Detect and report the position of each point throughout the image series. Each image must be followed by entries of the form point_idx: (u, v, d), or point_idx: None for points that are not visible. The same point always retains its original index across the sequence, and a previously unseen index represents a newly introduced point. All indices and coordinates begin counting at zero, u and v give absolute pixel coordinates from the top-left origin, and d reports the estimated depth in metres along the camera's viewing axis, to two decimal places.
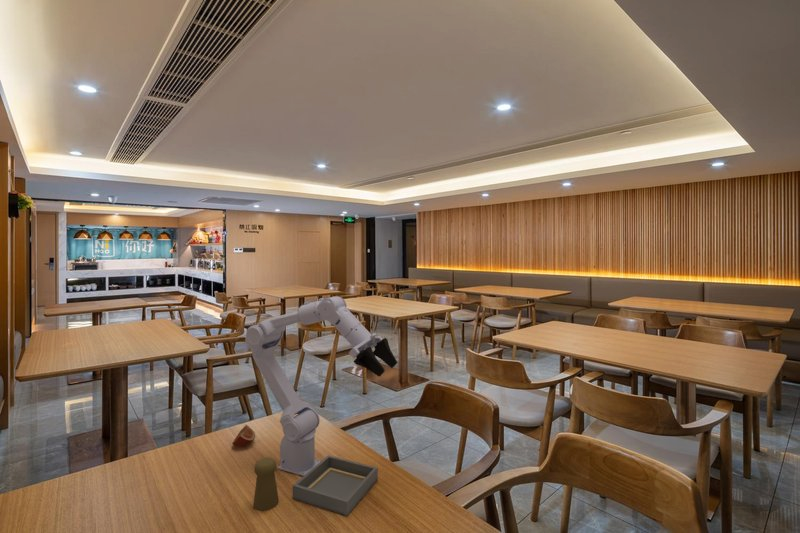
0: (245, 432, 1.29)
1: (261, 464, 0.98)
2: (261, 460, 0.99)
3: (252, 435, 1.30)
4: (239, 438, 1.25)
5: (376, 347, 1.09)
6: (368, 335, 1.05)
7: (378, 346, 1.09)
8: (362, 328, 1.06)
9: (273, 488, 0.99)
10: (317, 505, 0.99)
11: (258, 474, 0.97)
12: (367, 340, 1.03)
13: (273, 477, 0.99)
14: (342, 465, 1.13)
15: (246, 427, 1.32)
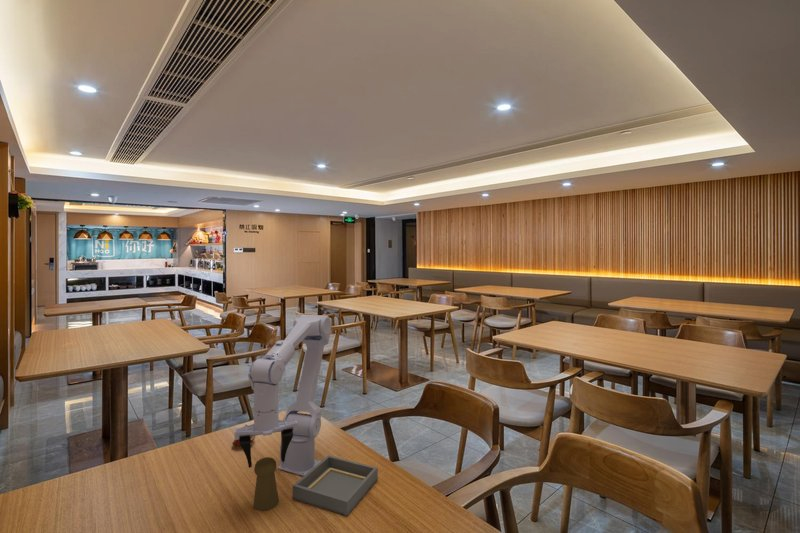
0: None
1: (261, 464, 0.98)
2: (261, 460, 0.99)
3: None
4: None
5: (282, 431, 1.01)
6: (264, 428, 0.96)
7: (282, 433, 1.00)
8: (265, 418, 0.96)
9: (273, 488, 0.99)
10: (317, 505, 0.99)
11: (258, 474, 0.97)
12: (257, 433, 0.96)
13: (273, 477, 0.99)
14: (342, 465, 1.13)
15: None
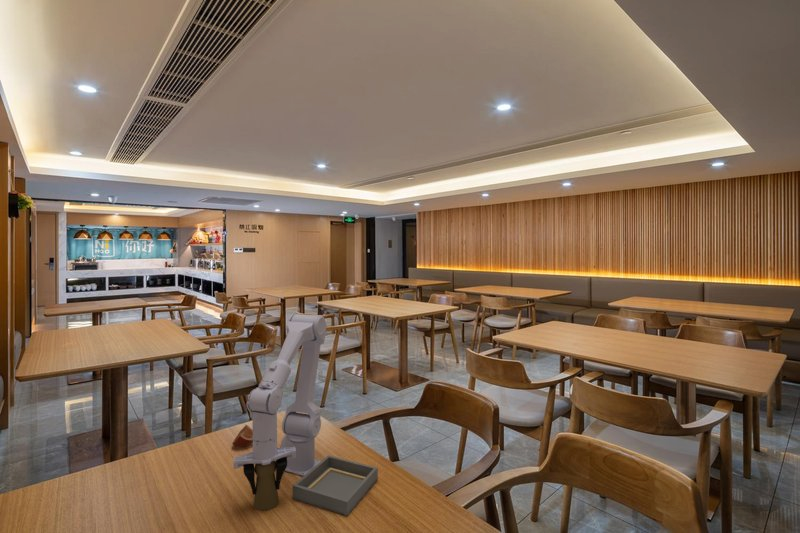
0: (245, 432, 1.29)
1: (261, 464, 0.98)
2: None
3: (252, 435, 1.30)
4: (239, 438, 1.25)
5: (276, 459, 1.01)
6: (263, 457, 0.97)
7: (276, 462, 1.00)
8: (263, 447, 0.96)
9: (273, 488, 0.99)
10: (317, 505, 0.99)
11: (258, 474, 0.97)
12: (256, 462, 0.96)
13: (273, 477, 0.99)
14: (342, 465, 1.13)
15: (246, 427, 1.32)
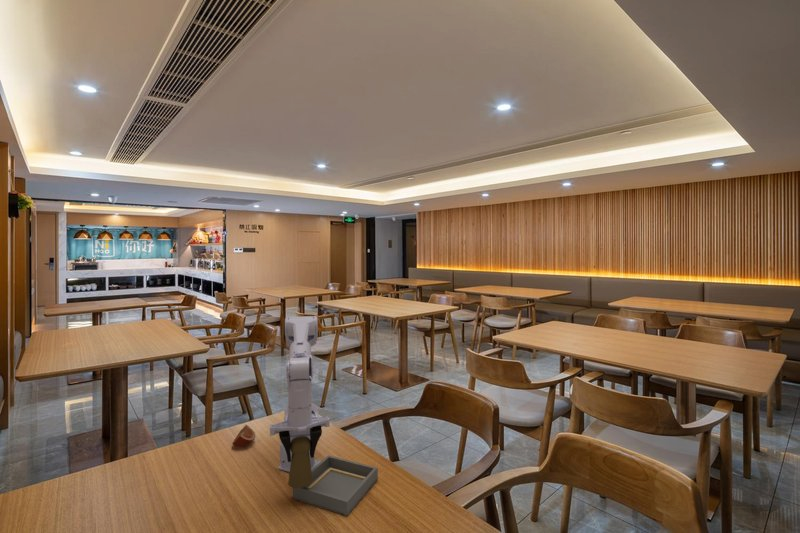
0: (245, 432, 1.29)
1: (297, 441, 1.00)
2: (296, 438, 1.02)
3: (252, 435, 1.30)
4: (239, 438, 1.25)
5: (311, 428, 1.03)
6: (298, 424, 0.99)
7: (311, 430, 1.02)
8: (299, 414, 0.99)
9: (308, 466, 1.01)
10: (317, 505, 0.99)
11: (295, 451, 0.99)
12: (292, 429, 0.98)
13: (308, 454, 1.01)
14: (342, 465, 1.13)
15: (246, 427, 1.32)
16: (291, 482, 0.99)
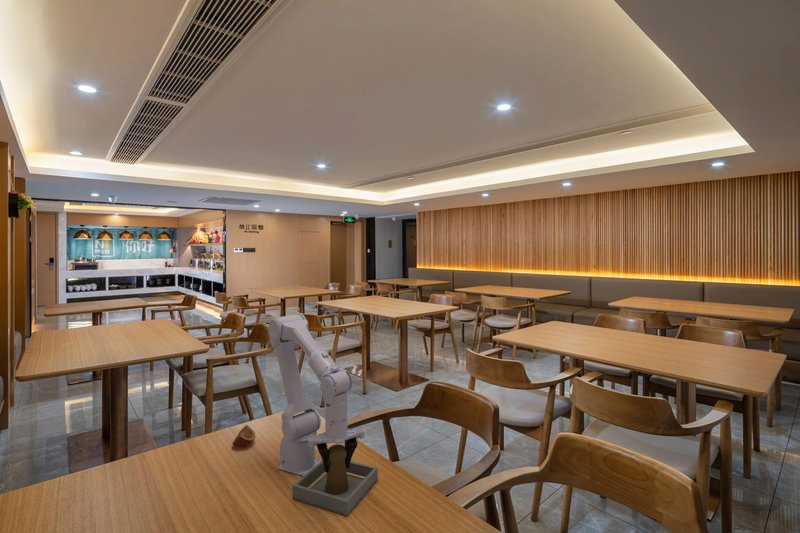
0: (245, 432, 1.29)
1: (334, 451, 1.03)
2: (333, 447, 1.05)
3: (252, 435, 1.30)
4: (239, 438, 1.25)
5: (346, 440, 1.06)
6: (336, 437, 1.02)
7: (346, 442, 1.06)
8: (337, 427, 1.02)
9: (345, 473, 1.04)
10: (317, 505, 0.99)
11: (332, 460, 1.03)
12: (330, 441, 1.02)
13: (344, 462, 1.05)
14: None
15: (246, 427, 1.32)
16: (329, 489, 1.03)
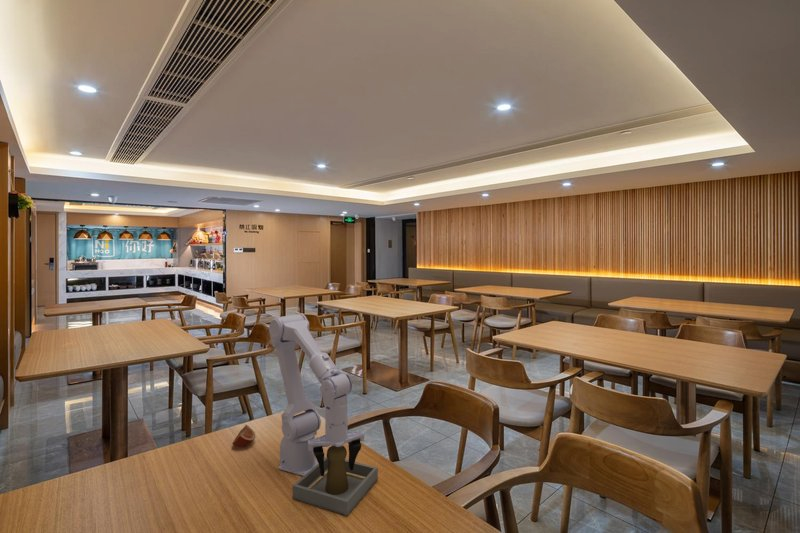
0: (245, 432, 1.29)
1: (334, 451, 1.03)
2: (332, 447, 1.05)
3: (252, 435, 1.30)
4: (239, 438, 1.25)
5: (350, 442, 1.07)
6: (336, 440, 1.02)
7: (350, 444, 1.06)
8: (337, 430, 1.02)
9: (345, 473, 1.04)
10: (317, 505, 0.99)
11: (332, 460, 1.03)
12: (330, 444, 1.02)
13: (344, 462, 1.05)
14: None
15: (246, 427, 1.32)
16: (329, 489, 1.03)
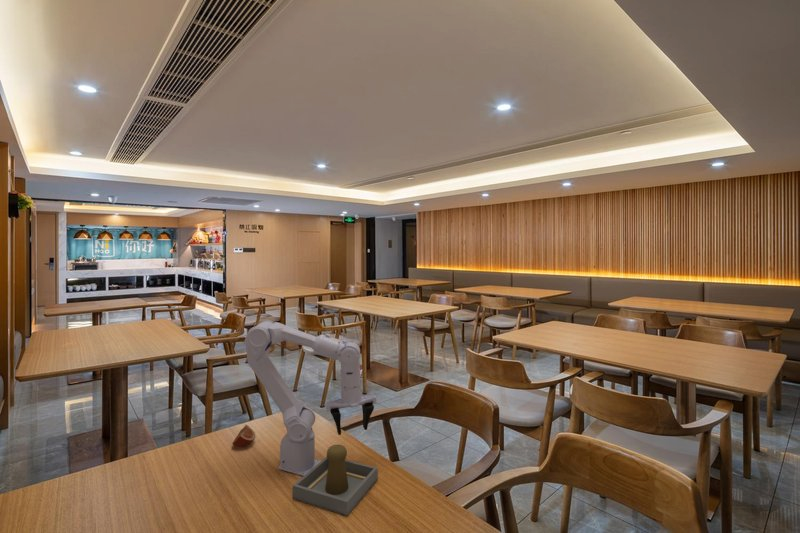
0: (245, 432, 1.29)
1: (334, 451, 1.03)
2: (333, 447, 1.05)
3: (252, 435, 1.30)
4: (239, 438, 1.25)
5: (363, 404, 1.18)
6: (351, 401, 1.13)
7: (364, 406, 1.17)
8: (351, 393, 1.13)
9: (345, 473, 1.04)
10: (317, 505, 0.99)
11: (332, 460, 1.03)
12: (345, 405, 1.13)
13: (344, 462, 1.05)
14: None
15: (246, 427, 1.32)
16: (329, 489, 1.03)
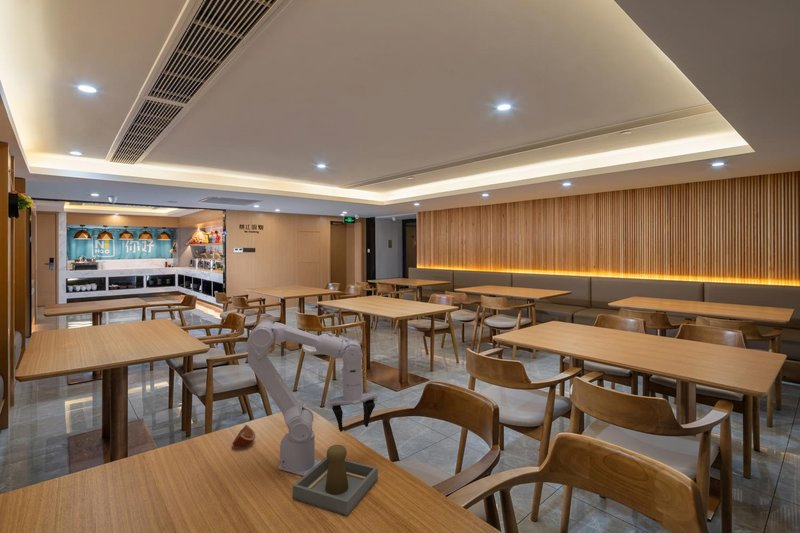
0: (245, 432, 1.29)
1: (334, 451, 1.03)
2: (332, 447, 1.05)
3: (252, 435, 1.30)
4: (239, 438, 1.25)
5: (365, 402, 1.20)
6: (353, 399, 1.15)
7: (365, 404, 1.19)
8: (353, 390, 1.15)
9: (345, 473, 1.04)
10: (317, 505, 0.99)
11: (332, 460, 1.03)
12: (347, 403, 1.15)
13: (344, 462, 1.05)
14: None
15: (246, 427, 1.32)
16: (329, 489, 1.03)
